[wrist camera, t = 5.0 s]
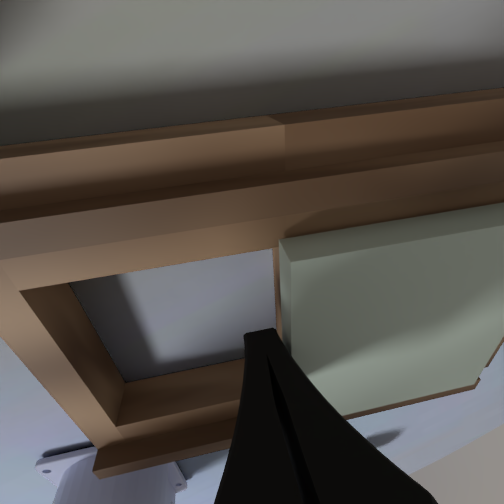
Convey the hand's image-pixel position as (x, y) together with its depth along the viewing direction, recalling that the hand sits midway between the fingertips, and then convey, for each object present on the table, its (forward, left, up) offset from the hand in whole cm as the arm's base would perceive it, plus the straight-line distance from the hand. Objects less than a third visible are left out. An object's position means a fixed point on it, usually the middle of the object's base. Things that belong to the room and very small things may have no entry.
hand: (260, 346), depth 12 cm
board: (0, -1, -3) cm, 3 cm away
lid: (0, -6, 0) cm, 6 cm away
